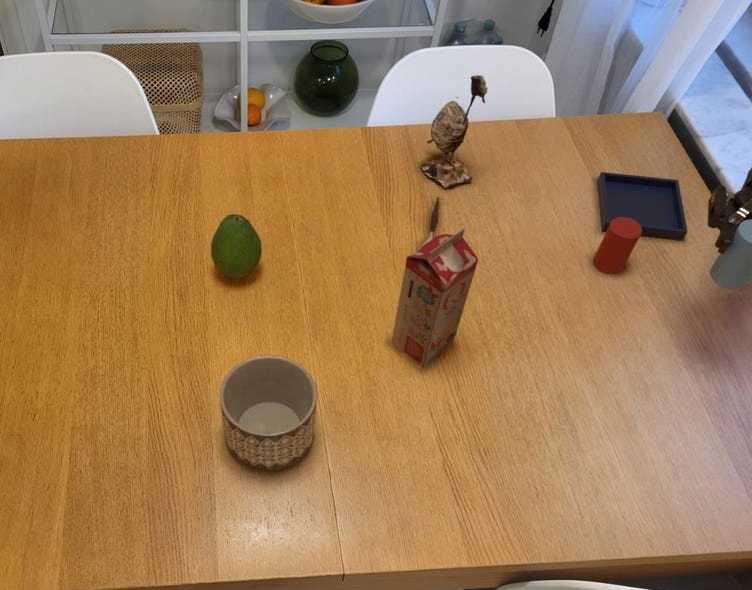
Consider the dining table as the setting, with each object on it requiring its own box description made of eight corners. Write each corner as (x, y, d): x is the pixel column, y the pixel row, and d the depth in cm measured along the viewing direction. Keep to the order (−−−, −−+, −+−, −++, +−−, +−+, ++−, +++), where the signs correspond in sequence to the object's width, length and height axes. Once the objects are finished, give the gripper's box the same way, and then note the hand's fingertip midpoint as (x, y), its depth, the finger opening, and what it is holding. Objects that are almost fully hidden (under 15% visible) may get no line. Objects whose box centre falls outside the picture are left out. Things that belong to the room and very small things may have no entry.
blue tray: (673, 188, 134) (678, 179, 132) (682, 240, 127) (687, 232, 125) (597, 180, 136) (600, 171, 134) (601, 231, 128) (605, 222, 127)
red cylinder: (622, 254, 125) (640, 218, 119) (624, 275, 122) (643, 240, 116) (592, 251, 126) (609, 215, 119) (593, 272, 123) (611, 236, 116)
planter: (211, 415, 108) (205, 374, 100) (291, 385, 111) (292, 342, 103) (245, 488, 102) (241, 449, 93) (329, 454, 104) (333, 414, 96)
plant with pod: (453, 147, 142) (475, 47, 125) (475, 186, 135) (501, 87, 119) (412, 153, 141) (429, 54, 124) (432, 193, 134) (453, 94, 118)
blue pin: (745, 266, 102) (777, 222, 96) (749, 292, 99) (782, 249, 93) (708, 260, 103) (736, 216, 96) (711, 286, 100) (740, 242, 94)
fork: (445, 200, 133) (447, 191, 132) (434, 264, 125) (435, 255, 123) (430, 198, 134) (432, 189, 132) (418, 261, 125) (420, 253, 123)
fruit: (232, 246, 128) (228, 191, 118) (271, 265, 125) (270, 211, 115) (204, 275, 124) (197, 221, 114) (243, 296, 121) (239, 242, 111)
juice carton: (452, 344, 115) (483, 240, 97) (423, 368, 113) (449, 266, 94) (420, 319, 118) (444, 214, 100) (391, 342, 115) (410, 238, 97)
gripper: (737, 139, 102) (701, 213, 94) (851, 177, 97) (823, 258, 90) (712, 183, 108) (675, 255, 100) (818, 220, 104) (789, 299, 96)
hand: (745, 256), depth 95 cm, fingers closed on blue pin, 4 cm apart
